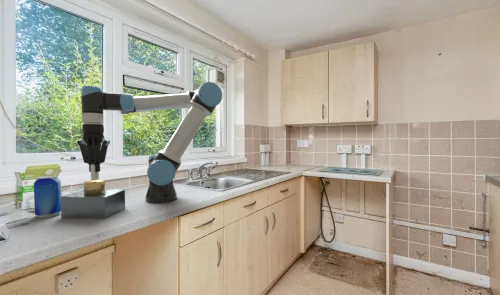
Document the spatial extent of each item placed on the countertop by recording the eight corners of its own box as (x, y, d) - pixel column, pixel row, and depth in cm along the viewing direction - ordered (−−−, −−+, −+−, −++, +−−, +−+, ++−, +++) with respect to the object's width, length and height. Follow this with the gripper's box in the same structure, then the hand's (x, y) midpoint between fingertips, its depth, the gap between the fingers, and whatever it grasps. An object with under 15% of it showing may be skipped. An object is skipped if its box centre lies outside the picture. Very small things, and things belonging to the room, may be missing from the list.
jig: (125, 208, 108) (124, 189, 107) (105, 218, 94) (104, 197, 93) (86, 207, 108) (86, 189, 108) (61, 217, 94) (60, 196, 94)
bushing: (109, 208, 105) (109, 179, 104) (97, 214, 97) (97, 183, 97) (93, 208, 105) (92, 179, 104) (80, 214, 97) (79, 182, 97)
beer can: (31, 219, 92) (29, 179, 92) (39, 213, 100) (38, 175, 99) (57, 216, 96) (56, 177, 95) (64, 211, 103) (63, 174, 103)
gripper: (113, 124, 103) (115, 178, 104) (84, 124, 103) (86, 178, 105) (102, 123, 95) (104, 181, 97) (71, 123, 96) (73, 181, 97)
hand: (95, 179), depth 101 cm, fingers closed
